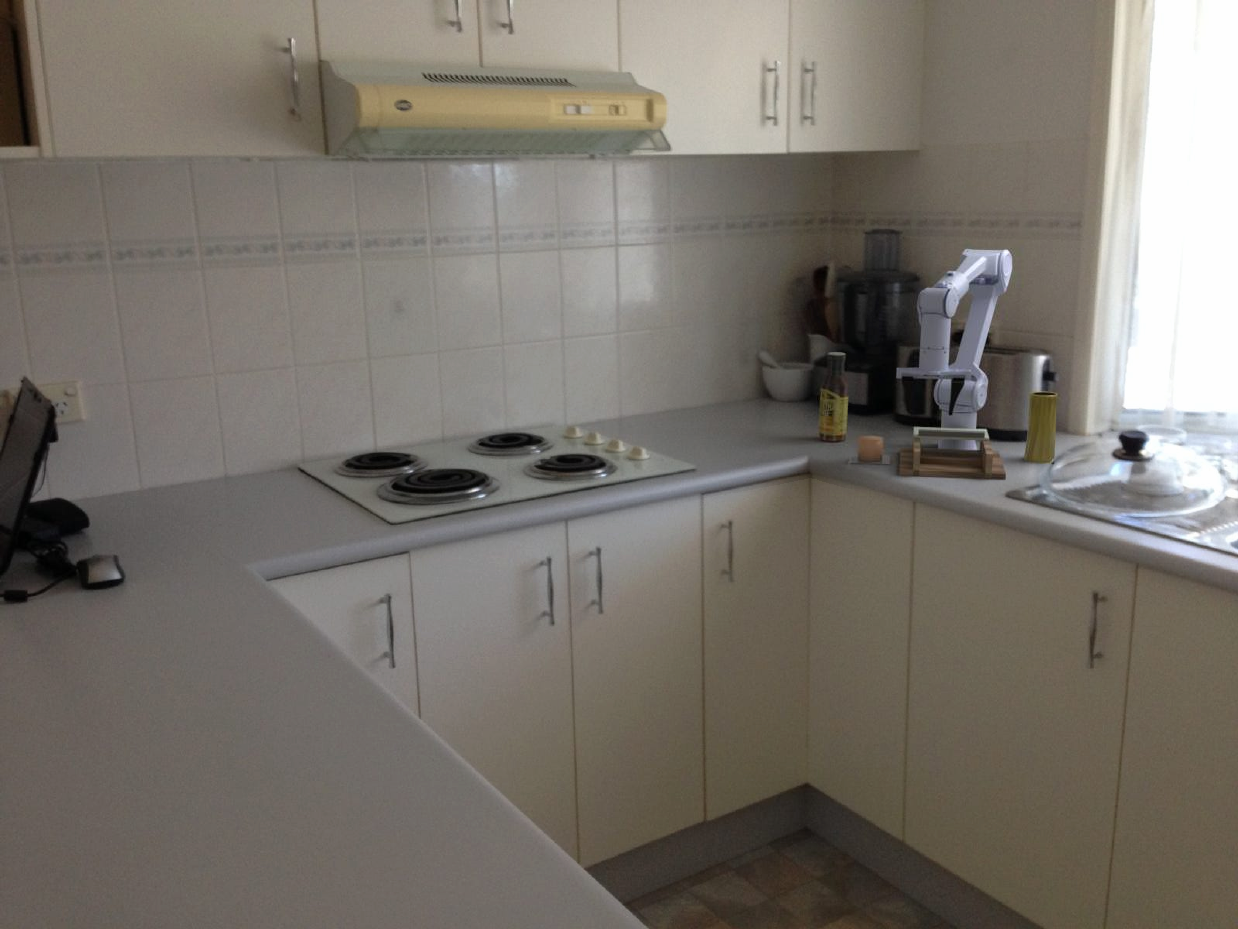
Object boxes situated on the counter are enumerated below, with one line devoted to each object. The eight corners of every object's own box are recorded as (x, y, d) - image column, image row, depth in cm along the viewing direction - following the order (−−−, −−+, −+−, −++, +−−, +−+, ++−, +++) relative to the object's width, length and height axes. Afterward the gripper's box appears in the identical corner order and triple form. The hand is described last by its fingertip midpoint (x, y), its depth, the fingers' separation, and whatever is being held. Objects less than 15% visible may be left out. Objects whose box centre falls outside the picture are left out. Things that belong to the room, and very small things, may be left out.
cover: (913, 429, 245) (914, 421, 245) (986, 431, 242) (986, 424, 242) (913, 438, 237) (914, 430, 237) (989, 440, 233) (989, 433, 233)
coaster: (851, 456, 245) (851, 453, 245) (890, 458, 243) (890, 455, 243) (849, 465, 238) (850, 462, 238) (889, 466, 236) (889, 464, 236)
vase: (1027, 456, 242) (1031, 389, 239) (1057, 459, 239) (1062, 392, 236) (1020, 462, 237) (1025, 394, 234) (1051, 466, 234) (1056, 397, 231)
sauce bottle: (813, 438, 263) (814, 352, 258) (835, 435, 266) (837, 350, 261) (829, 444, 257) (831, 355, 253) (852, 441, 260) (855, 353, 255)
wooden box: (900, 454, 247) (901, 429, 245) (997, 457, 242) (999, 432, 241) (899, 476, 228) (900, 450, 227) (1005, 481, 223) (1007, 454, 222)
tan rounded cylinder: (857, 456, 243) (858, 435, 242) (882, 456, 242) (882, 435, 241) (858, 461, 238) (858, 440, 237) (882, 462, 237) (883, 441, 236)
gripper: (897, 349, 231) (894, 415, 234) (973, 351, 227) (968, 418, 230) (897, 345, 237) (894, 410, 240) (971, 346, 234) (967, 412, 237)
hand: (930, 413), depth 236 cm, fingers open, 7 cm apart
